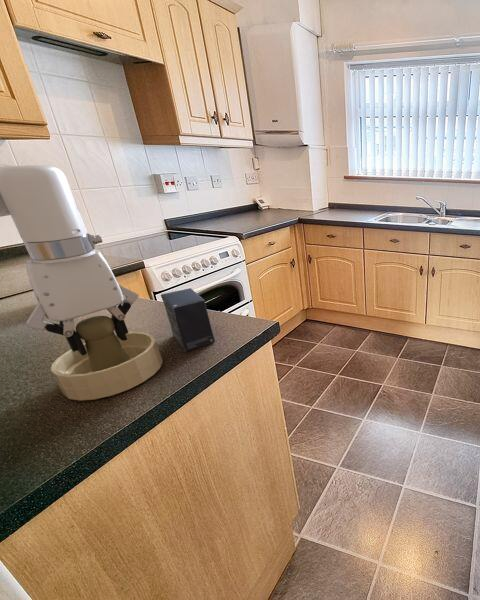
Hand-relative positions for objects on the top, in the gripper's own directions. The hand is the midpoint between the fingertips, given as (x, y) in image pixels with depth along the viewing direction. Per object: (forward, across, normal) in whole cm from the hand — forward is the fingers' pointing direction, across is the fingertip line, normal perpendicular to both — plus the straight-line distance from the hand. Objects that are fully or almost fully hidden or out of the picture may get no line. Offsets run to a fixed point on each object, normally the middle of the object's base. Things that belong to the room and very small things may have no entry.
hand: (102, 344), depth 61 cm
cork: (+6, 0, 0) cm, 6 cm away
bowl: (+7, 0, 0) cm, 7 cm away
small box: (+7, -15, -2) cm, 17 cm away
